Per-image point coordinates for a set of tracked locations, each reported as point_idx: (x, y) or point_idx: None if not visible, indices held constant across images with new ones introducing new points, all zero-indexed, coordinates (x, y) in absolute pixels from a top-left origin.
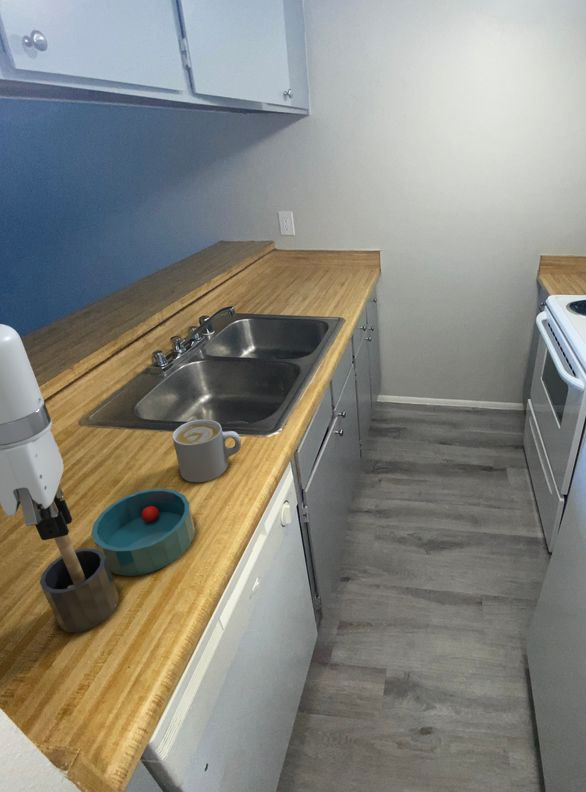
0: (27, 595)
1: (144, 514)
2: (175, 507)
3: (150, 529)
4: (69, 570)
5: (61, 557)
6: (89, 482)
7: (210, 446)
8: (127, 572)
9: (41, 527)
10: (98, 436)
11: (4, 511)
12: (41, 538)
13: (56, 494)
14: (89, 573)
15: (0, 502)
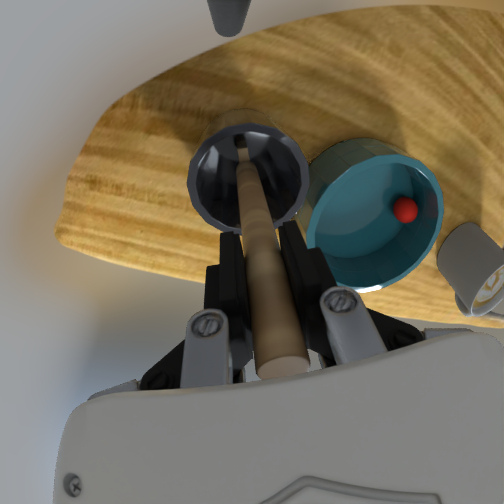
0: (294, 45)
1: (404, 208)
2: (401, 242)
3: (380, 205)
4: (238, 185)
5: (292, 147)
6: (495, 105)
7: (465, 303)
8: None
9: (205, 297)
10: None
11: (62, 438)
12: (221, 235)
13: (324, 367)
14: (287, 160)
15: (53, 497)
